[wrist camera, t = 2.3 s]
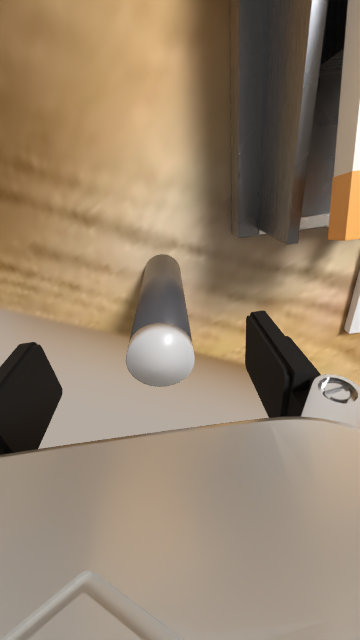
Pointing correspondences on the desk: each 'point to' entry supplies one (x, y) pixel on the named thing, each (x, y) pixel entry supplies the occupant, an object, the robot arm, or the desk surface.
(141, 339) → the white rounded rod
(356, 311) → the mat
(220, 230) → the desk surface
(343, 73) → the tilting box lid
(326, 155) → the tilting lid box
